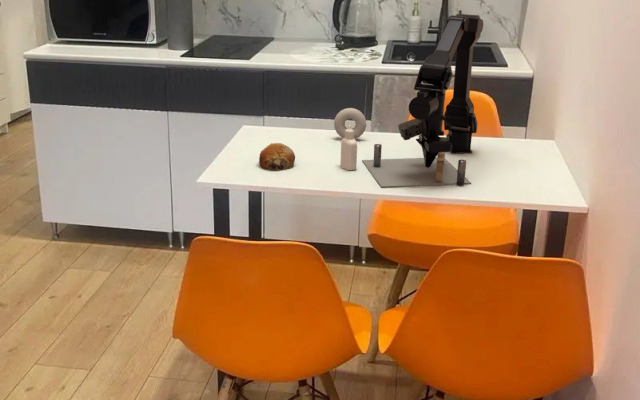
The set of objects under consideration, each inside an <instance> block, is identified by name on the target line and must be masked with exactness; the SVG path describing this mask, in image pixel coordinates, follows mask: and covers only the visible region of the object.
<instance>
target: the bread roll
mask: <svg viewBox="0 0 640 400" xmlns="http://www.w3.org/2000/svg"><path fill="white" fill-rule="evenodd" d="M258 160H259V162H258V163H259V165H260V167H261V168H262V169H264V170H270V171H282V170H288V169H291V168H292V167H293V166H295V163H296V162H295V161H296V155H295V152H294V151H293V149H292V148H291V147H289V146H287V145H286V144H284V143H281V142H276V143H273V142H272V143H270V144H269V145H267V146H266V147H264V149H261V151H260V154H259V159H258Z"/></svg>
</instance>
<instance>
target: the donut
mask: <svg viewBox="0 0 640 400" xmlns="http://www.w3.org/2000/svg"><path fill="white" fill-rule="evenodd" d="M348 120H353V121H354V123H355V125H354V127H353V128H352V129H353V130H354V139H355V140H356V139H359V138H360V137H361V136H362V135H364V133H365V131H366V128H367V119H366V116H365V115H364V114H363V112H361V110H359V109H356V108H353V107H347V108H343V109H342V110H340V111H339V112H338V113H336V116H335V118H334V121H333V126H334V127H333V128H334V130H335V133H336V134H337V135H338V136H339V137H341V139H343V138H345V130H346V129H348V127H347V126H346V121H348Z"/></svg>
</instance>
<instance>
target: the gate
mask: <svg viewBox="0 0 640 400" xmlns="http://www.w3.org/2000/svg"><path fill="white" fill-rule="evenodd" d="M444 155H445V156H446V152H439V153H438V156H436V157H437V171H436V181H442V175H443V166H444Z"/></svg>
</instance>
